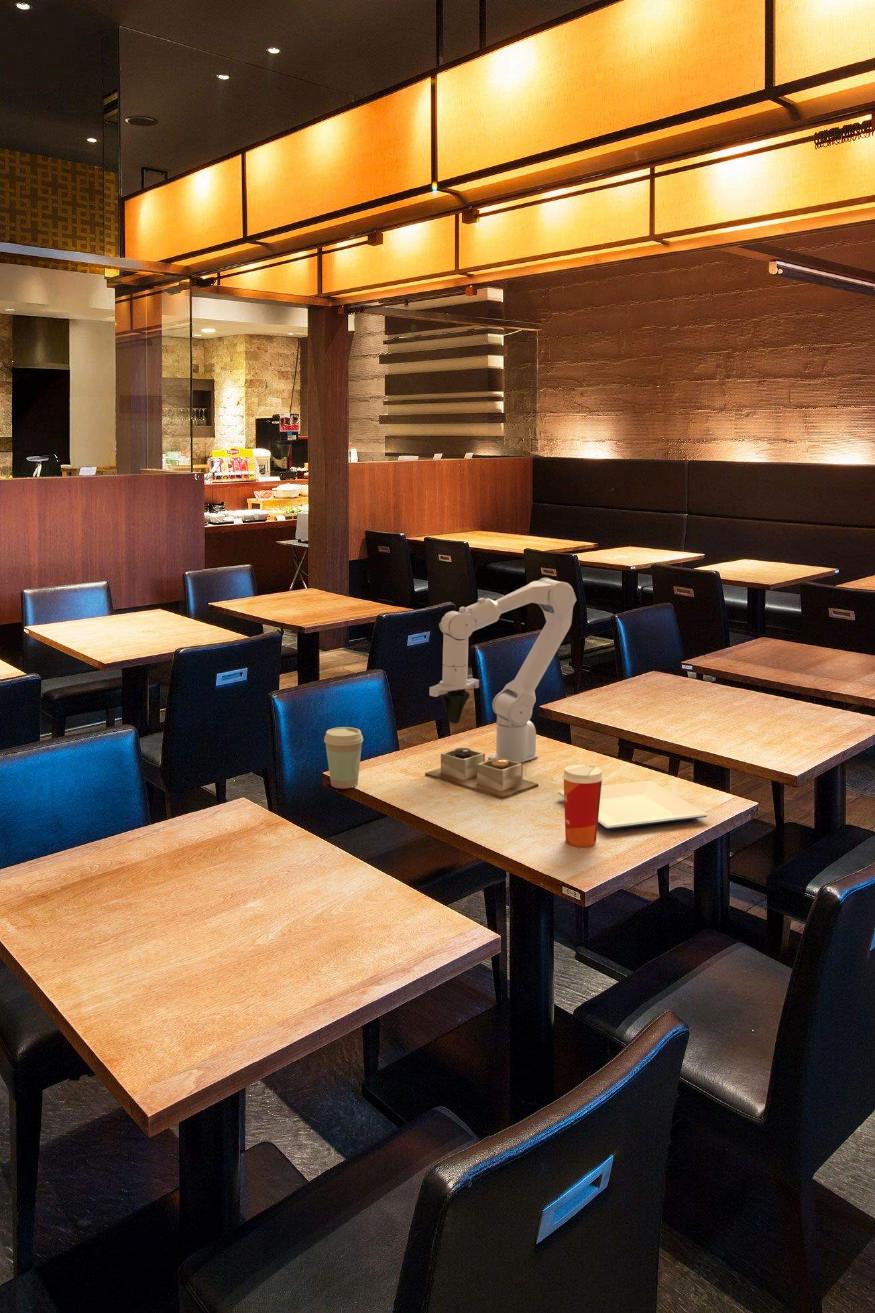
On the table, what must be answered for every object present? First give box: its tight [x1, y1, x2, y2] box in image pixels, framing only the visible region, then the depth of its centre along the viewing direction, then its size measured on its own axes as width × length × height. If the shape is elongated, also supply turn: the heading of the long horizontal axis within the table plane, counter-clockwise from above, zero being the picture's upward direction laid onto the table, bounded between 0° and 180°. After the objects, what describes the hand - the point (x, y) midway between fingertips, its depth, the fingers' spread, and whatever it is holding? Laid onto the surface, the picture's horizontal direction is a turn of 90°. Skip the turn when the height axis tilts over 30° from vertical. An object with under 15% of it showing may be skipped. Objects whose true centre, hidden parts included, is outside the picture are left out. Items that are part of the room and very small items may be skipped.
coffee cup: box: [323, 726, 364, 790], centre depth 221 cm, size 8×9×12 cm
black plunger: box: [454, 747, 472, 759], centre depth 228 cm, size 5×5×5 cm
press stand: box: [424, 749, 539, 800], centre depth 224 cm, size 12×23×5 cm, turn 46°
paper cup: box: [561, 764, 605, 848], centre depth 188 cm, size 8×8×14 cm
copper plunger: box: [492, 758, 508, 770], centre depth 220 cm, size 5×5×5 cm
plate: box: [557, 780, 709, 830], centre depth 206 cm, size 22×22×2 cm
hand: (453, 722), depth 233 cm, fingers closed
